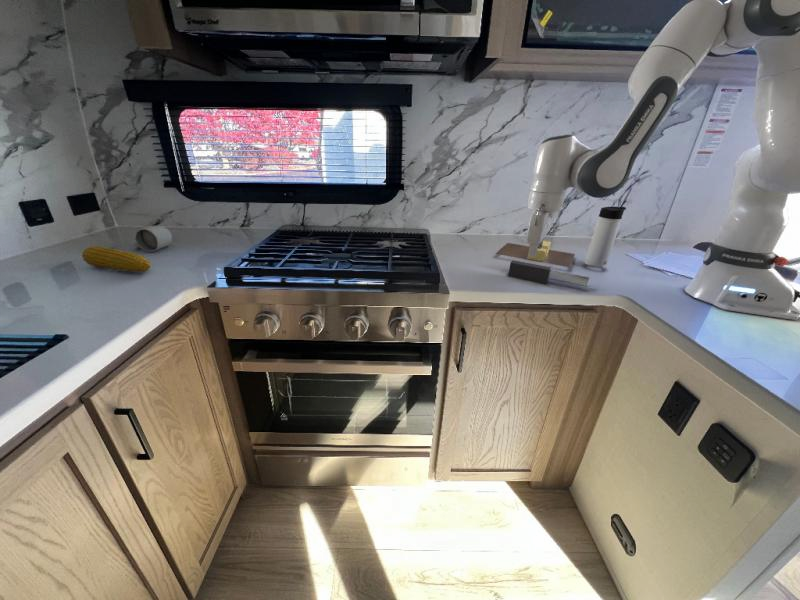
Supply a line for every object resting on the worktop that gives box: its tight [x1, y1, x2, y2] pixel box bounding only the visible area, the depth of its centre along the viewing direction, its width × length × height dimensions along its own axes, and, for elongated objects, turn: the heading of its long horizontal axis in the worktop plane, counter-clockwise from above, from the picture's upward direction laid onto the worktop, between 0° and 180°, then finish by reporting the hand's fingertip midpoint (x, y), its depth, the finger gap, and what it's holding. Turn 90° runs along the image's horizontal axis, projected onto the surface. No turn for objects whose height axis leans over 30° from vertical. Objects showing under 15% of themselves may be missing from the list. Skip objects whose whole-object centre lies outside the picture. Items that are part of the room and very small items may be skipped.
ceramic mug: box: [134, 225, 173, 253], centre depth 111 cm, size 11×8×8 cm
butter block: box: [542, 240, 552, 256], centre depth 118 cm, size 5×7×4 cm
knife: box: [507, 259, 590, 292], centre depth 95 cm, size 21×3×4 cm, turn 60°
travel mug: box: [584, 206, 627, 272], centre depth 105 cm, size 6×7×20 cm
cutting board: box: [495, 242, 576, 268], centre depth 117 cm, size 24×17×2 cm
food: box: [81, 246, 151, 273], centre depth 93 cm, size 21×6×6 cm, turn 77°
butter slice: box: [528, 248, 547, 262], centre depth 111 cm, size 5×3×4 cm, turn 61°
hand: (535, 252), depth 94 cm, fingers open, 8 cm apart
